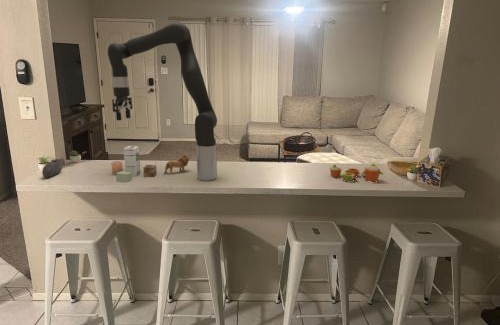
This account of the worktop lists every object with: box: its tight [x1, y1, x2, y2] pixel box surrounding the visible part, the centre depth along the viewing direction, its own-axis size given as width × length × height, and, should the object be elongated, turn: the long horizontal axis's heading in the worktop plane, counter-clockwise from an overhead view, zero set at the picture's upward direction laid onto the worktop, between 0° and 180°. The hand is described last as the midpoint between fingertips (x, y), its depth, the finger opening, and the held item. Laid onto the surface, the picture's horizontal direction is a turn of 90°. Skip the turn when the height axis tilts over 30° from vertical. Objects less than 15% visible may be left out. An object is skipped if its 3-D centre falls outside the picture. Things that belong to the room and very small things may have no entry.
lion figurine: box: [163, 154, 190, 175], centre depth 187 cm, size 15×5×9 cm, turn 130°
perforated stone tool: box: [41, 158, 63, 179], centre depth 177 cm, size 15×5×7 cm, turn 179°
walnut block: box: [142, 164, 157, 178], centre depth 181 cm, size 5×5×5 cm
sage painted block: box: [115, 170, 133, 183], centre depth 172 cm, size 6×4×4 cm, turn 79°
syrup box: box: [123, 145, 141, 177], centre depth 181 cm, size 6×6×14 cm
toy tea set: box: [328, 162, 384, 183], centre depth 184 cm, size 26×16×10 cm, turn 92°
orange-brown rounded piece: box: [111, 160, 124, 176], centre depth 182 cm, size 5×5×6 cm
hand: (123, 119), depth 179 cm, fingers open, 8 cm apart
